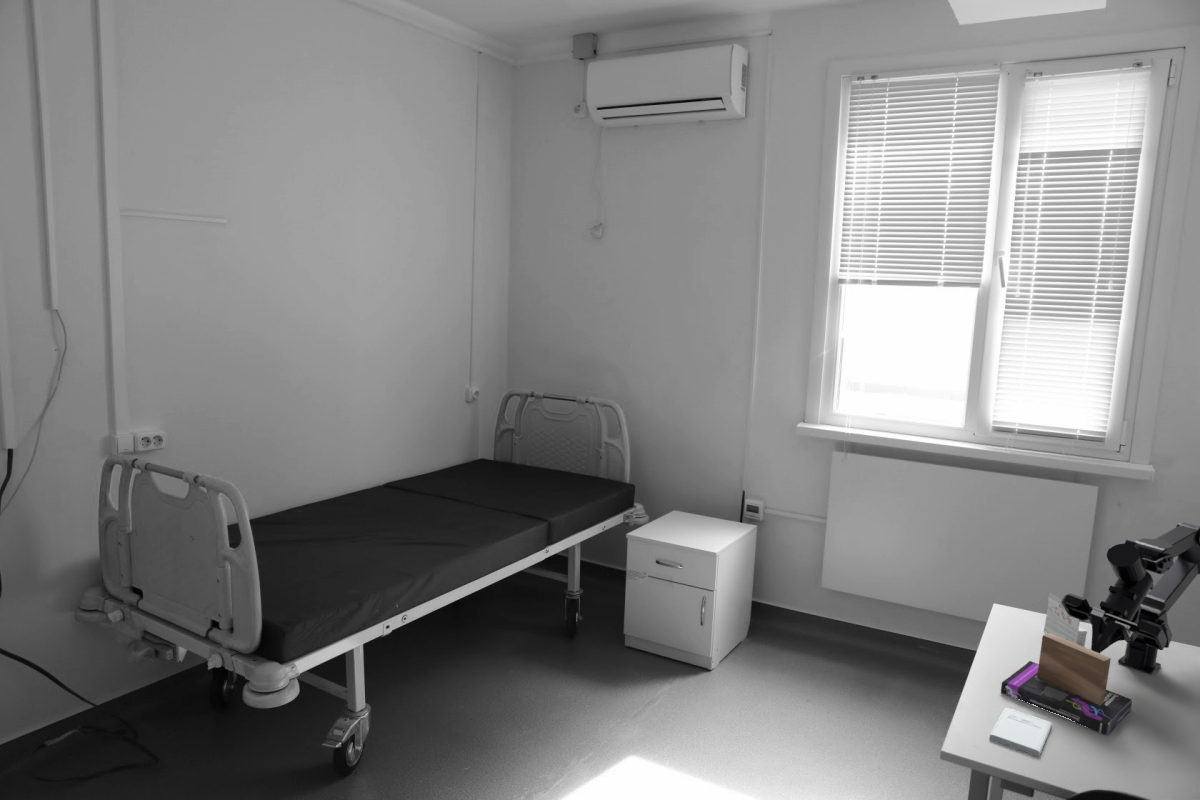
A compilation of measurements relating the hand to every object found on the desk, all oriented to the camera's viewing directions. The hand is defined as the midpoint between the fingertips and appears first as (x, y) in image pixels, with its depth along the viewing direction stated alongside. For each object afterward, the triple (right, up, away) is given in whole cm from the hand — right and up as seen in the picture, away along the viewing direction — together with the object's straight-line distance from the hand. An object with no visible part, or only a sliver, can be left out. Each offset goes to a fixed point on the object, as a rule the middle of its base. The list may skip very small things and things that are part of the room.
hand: (1093, 653), depth 167 cm
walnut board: (-7, -6, -4) cm, 10 cm away
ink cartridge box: (+7, -5, +23) cm, 25 cm away
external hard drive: (-23, -10, -16) cm, 30 cm away
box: (-8, -9, -4) cm, 13 cm away
